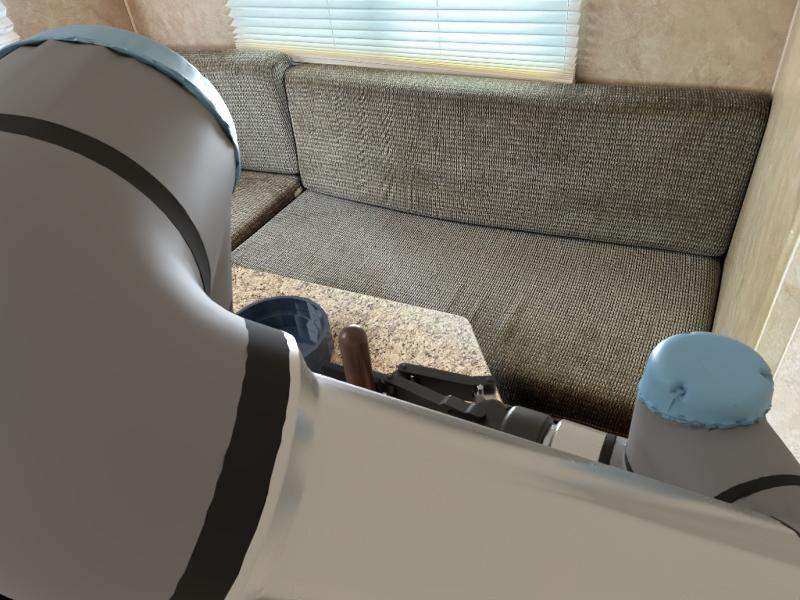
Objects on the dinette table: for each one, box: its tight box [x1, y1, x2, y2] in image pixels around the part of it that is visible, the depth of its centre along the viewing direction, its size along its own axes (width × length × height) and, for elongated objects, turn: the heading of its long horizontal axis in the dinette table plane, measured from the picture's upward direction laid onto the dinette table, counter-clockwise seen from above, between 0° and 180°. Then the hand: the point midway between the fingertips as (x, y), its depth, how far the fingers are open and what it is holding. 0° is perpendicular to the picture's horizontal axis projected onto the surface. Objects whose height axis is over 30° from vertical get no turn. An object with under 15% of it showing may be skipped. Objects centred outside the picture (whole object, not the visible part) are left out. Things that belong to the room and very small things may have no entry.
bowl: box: [233, 295, 335, 375], centre depth 97 cm, size 17×17×6 cm
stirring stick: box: [337, 323, 376, 392], centre depth 60 cm, size 5×5×21 cm
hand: (317, 383), depth 61 cm, fingers closed on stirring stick, 3 cm apart
